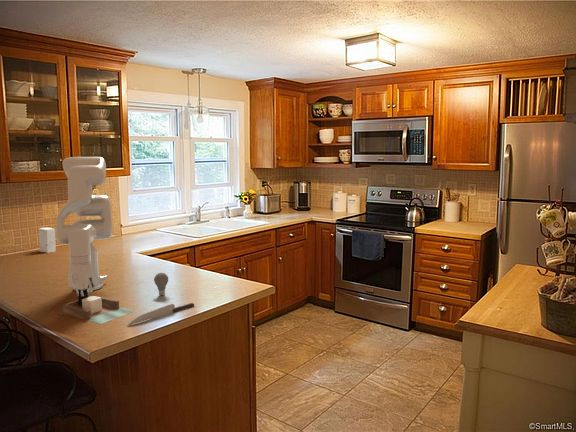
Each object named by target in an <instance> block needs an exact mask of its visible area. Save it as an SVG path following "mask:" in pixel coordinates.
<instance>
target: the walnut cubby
mask: <svg viewBox="0 0 576 432" xmlns="http://www.w3.org/2000/svg"><path fill="white" fill-rule="evenodd" d="M91 296H96V297H101V298H102V310H101V311H98V312H95V313H93V314H90V311H89V310H85V309H83V307H82V306H79V302H78V299H77V300H74V301H70V302H67V303H64V304H61V306H60V307H61V313H60V315H64V316H68V317H72V318H76V319H79V320H83V321H87V322H90V323H91V322H92V323H95V324H99V325H102V324H104V323H107V322H110V321H113V320H115V319H119V318H120V317H123V316H125V315H127V314H128V315H129V314H130V313H134V312H135V309H134V310H133V309H129V308H124V307H121V306H120V303H119V302H120V301H119V300H117V299H116V300H115V299H113V298H107V297H103V296H100V295H88V297H91Z"/></svg>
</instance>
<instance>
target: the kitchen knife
mask: <svg viewBox="0 0 576 432" xmlns="http://www.w3.org/2000/svg"><path fill="white" fill-rule="evenodd" d="M175 306H176V305H175V304H174V303H170V304H166V305H164V306H161V307H158V308H155V309H153V310H151V311H147V312H145V313H142V314H139V315H138V316H137V317H135V318H133V319H132V320H131V321H129V322H128V324H127V325H126V326H125V327H126V328H128V327H130V326H132V325H134V324H137V323H141V322H144V321H145V322H146V321H147V320H152V319H156V318H160V317H163V316H167V315H170V314H174V313H177V312H180V310H181V311H184V310H187V309H190V308H193V307H195V303H193V302H191V303H187V304H183V305H180V306H176V307H175ZM186 308H187V309H186ZM183 309H184V310H183ZM173 312H174V313H173ZM169 313H170V314H169Z"/></svg>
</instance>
